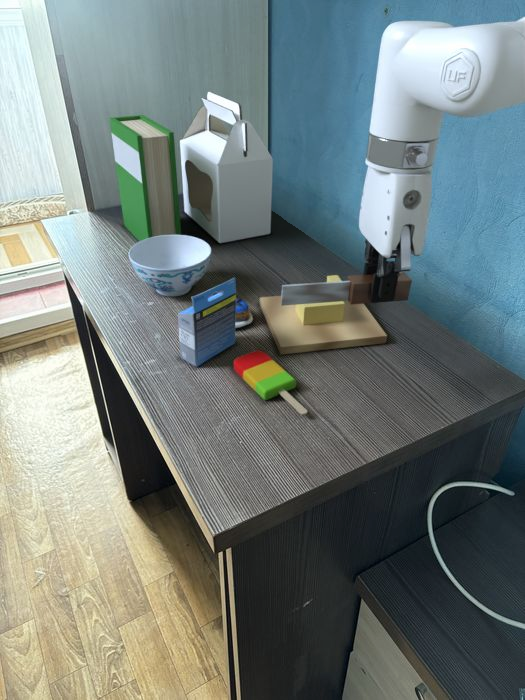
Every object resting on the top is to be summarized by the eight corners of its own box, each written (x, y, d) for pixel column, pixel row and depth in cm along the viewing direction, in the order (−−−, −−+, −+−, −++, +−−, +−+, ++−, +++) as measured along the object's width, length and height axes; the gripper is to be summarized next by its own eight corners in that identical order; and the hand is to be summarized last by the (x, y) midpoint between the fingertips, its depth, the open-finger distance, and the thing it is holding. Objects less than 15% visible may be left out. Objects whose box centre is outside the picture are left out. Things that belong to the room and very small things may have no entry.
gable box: (183, 211, 132) (175, 90, 116) (230, 204, 137) (229, 87, 121) (219, 244, 116) (216, 109, 100) (271, 234, 122) (275, 104, 105)
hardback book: (182, 246, 115) (173, 132, 101) (150, 253, 112) (137, 136, 98) (153, 220, 127) (142, 114, 113) (124, 225, 124) (109, 117, 110)
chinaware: (228, 286, 100) (228, 249, 96) (171, 317, 91) (167, 277, 86) (175, 263, 108) (172, 228, 104) (117, 289, 98) (111, 252, 94)
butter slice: (335, 291, 97) (337, 274, 94) (344, 305, 93) (347, 287, 91) (325, 292, 96) (327, 275, 94) (334, 306, 92) (336, 288, 90)
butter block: (333, 306, 92) (335, 289, 90) (342, 321, 88) (344, 303, 86) (295, 310, 91) (296, 292, 89) (303, 325, 87) (304, 307, 85)
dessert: (263, 312, 91) (250, 295, 86) (246, 344, 90) (231, 329, 85) (228, 301, 95) (214, 284, 90) (211, 331, 94) (195, 316, 89)
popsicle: (260, 357, 82) (260, 347, 81) (320, 411, 72) (322, 401, 71) (230, 368, 79) (230, 358, 78) (288, 426, 69) (289, 416, 68)
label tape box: (219, 335, 87) (217, 268, 79) (237, 344, 84) (236, 277, 77) (179, 358, 81) (173, 288, 74) (197, 368, 79) (192, 298, 72)
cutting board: (352, 296, 98) (353, 289, 98) (385, 343, 86) (387, 335, 85) (259, 304, 95) (259, 297, 94) (280, 354, 82) (280, 347, 82)
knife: (400, 291, 71) (404, 271, 69) (407, 300, 69) (412, 280, 67) (279, 300, 68) (280, 279, 66) (283, 309, 66) (284, 288, 64)
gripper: (467, 171, 52) (430, 325, 63) (402, 133, 65) (380, 266, 76) (398, 174, 51) (372, 330, 62) (345, 135, 64) (331, 270, 74)
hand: (377, 294), depth 69 cm, fingers closed on knife, 2 cm apart
